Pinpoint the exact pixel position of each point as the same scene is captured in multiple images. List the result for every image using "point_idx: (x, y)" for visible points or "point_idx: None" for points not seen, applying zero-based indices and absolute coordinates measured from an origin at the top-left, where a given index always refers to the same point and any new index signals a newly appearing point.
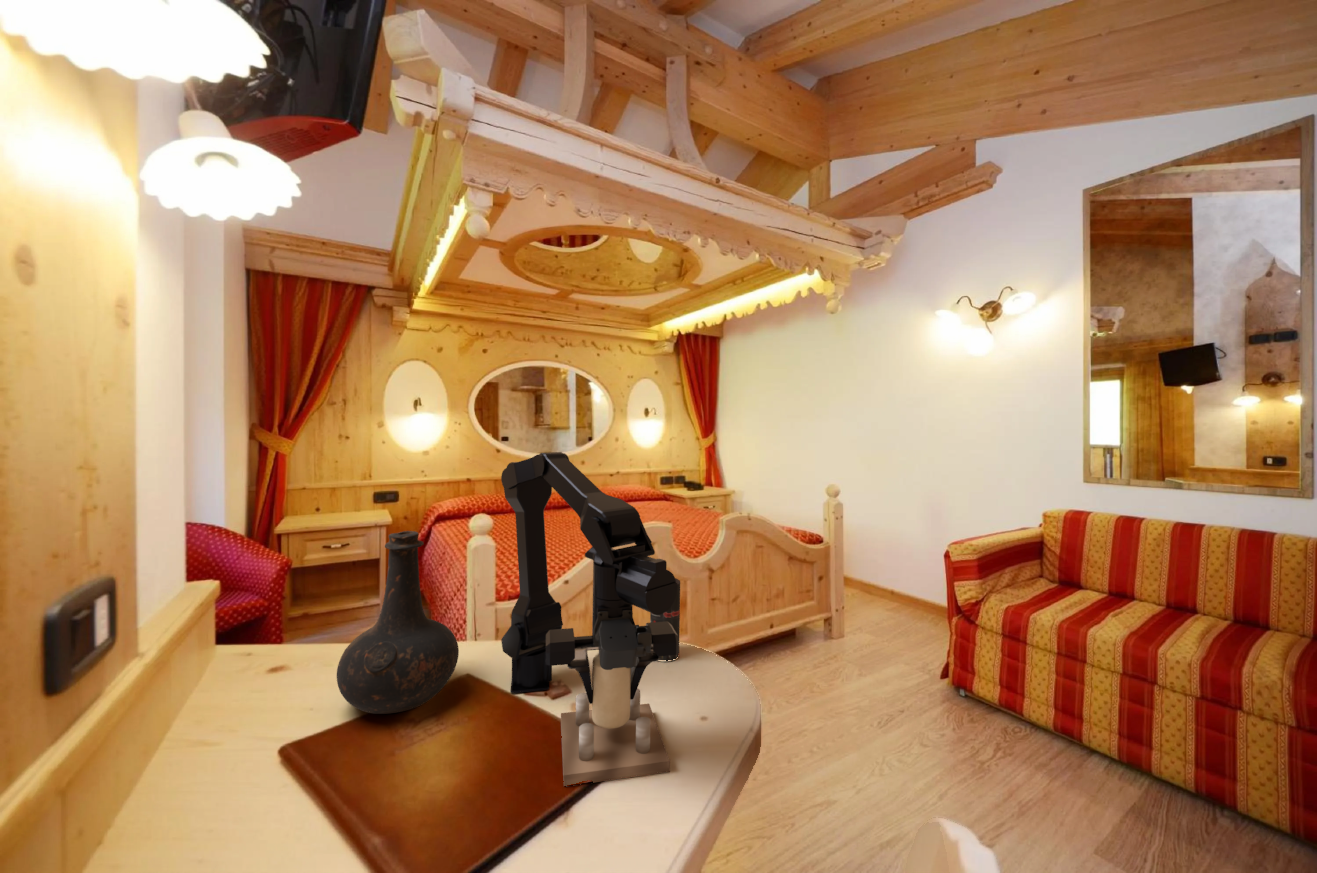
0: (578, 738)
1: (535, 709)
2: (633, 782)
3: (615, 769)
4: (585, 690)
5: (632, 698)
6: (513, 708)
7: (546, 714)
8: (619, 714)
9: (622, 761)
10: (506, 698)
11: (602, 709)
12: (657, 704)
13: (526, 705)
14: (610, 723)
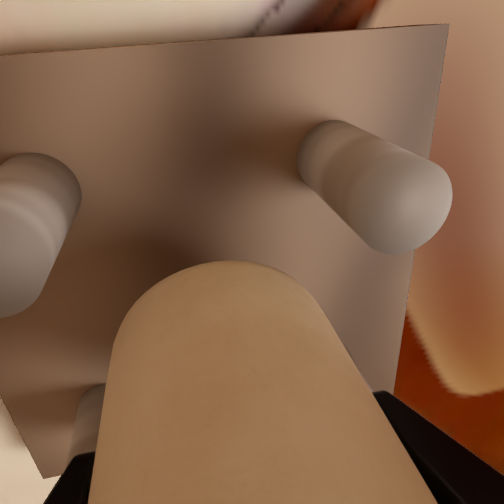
0: (349, 275)
1: (437, 423)
2: (88, 5)
3: (189, 42)
4: (490, 467)
5: (78, 458)
6: (492, 422)
7: (410, 407)
8: (178, 318)
9: (150, 96)
10: (500, 454)
11: (313, 336)
12: (21, 484)
13: (457, 436)
14: (235, 274)
